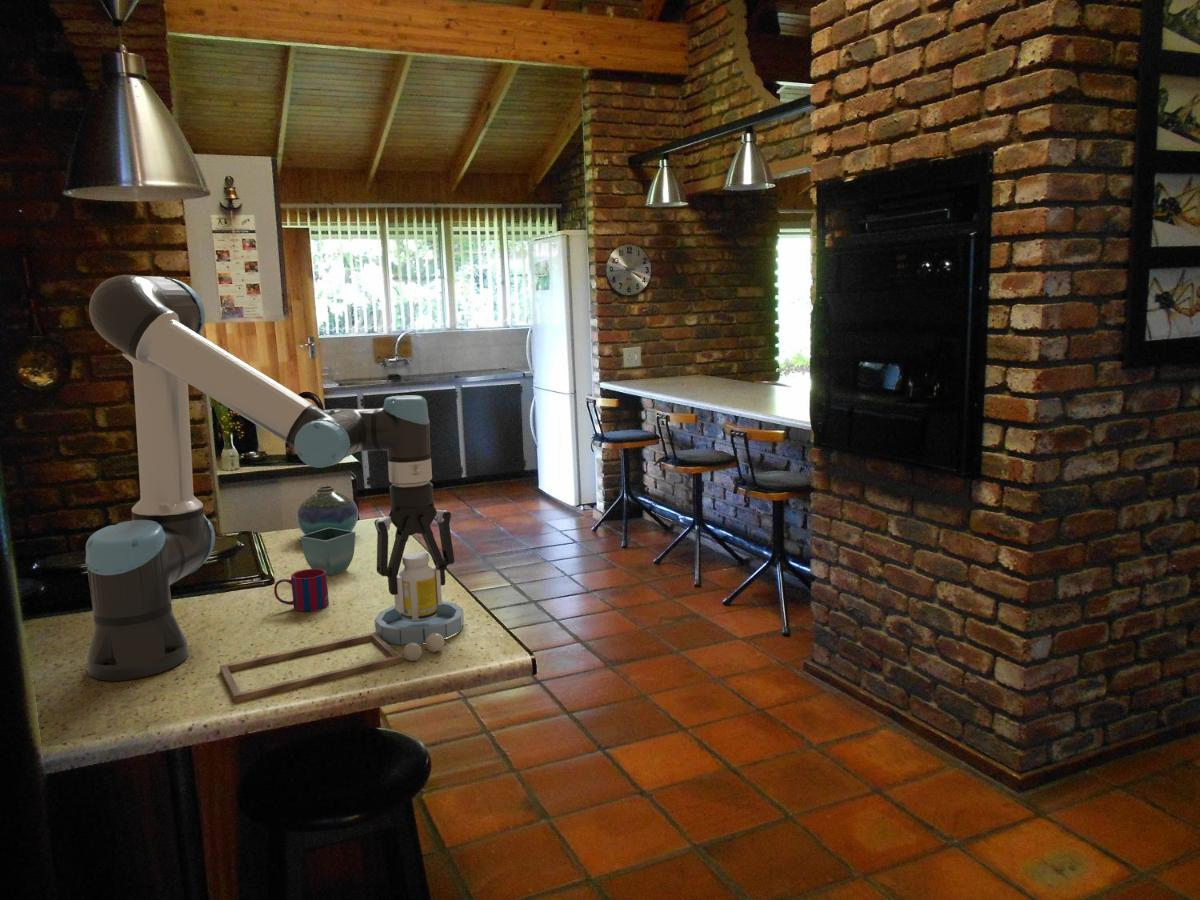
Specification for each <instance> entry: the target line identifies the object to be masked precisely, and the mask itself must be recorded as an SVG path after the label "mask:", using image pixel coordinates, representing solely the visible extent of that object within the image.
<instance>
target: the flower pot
mask: <svg viewBox="0 0 1200 900" xmlns="http://www.w3.org/2000/svg"><path fill="white" fill-rule="evenodd" d="M299 539H300V540H299V541H300V543H301V548H302V552H303V556H304V559H305V561H306V563H307V565H308V567H310V569H323V570H325V571H326V573H327V576H329V577H330V576H334V575H337V574H339V573H342V572H344V571H347V569H348V568H349V567H350V565H351V563H352V561H353V558H354V556H355V555H354V554H355V546H356V545H355V543H356V531H355V530H352V531H348V530H342V529H336V528H326V529H322V530H319V531H316V532H312V533H309V534H306V535H305V534H303V535H300V536H299Z"/></svg>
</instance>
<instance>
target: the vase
mask: <svg viewBox="0 0 1200 900" xmlns="http://www.w3.org/2000/svg"><path fill="white" fill-rule="evenodd" d="M316 489H317V490H316V492H313V494H311V495H309V496H308V497H306V498H305V499H304V500H302V501H301V503H300V504H299V506H298V507H297V511H296V523H297V525H298V528H299V530H300V531H301V532H302V533H303V535H306V534H309V533H312V532H316V531H319V530H322V529H326V528H336V529H342V530H348V531H354V528H355V527H356V525H357V523H358V518H359V509H358V506H357V504H356V502H355V501H354V500H353V499H352V498H351V497H350V496H348V495H346V494H345V493H342V492H340V491H337V490H336V489H335V488H334V486H333V485H324V486H319V487H317V488H316Z"/></svg>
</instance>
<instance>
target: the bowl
mask: <svg viewBox="0 0 1200 900" xmlns="http://www.w3.org/2000/svg"><path fill="white" fill-rule="evenodd" d="M464 618H465V617H464V609H463V608H462V607H461V606H459V604H457V603H455V602H451V601H450V602H449V601H445V600H442V605H437V615H436V616H435V617H434V618H432V619H430V620H427V621H422V622H409V621H406V620H404V619H403V618H402V615H401V613H399V612H398V611H397V610H396V609H395V605H392V606H390V607H388V608H385V609H383V610H381V611H379V612H378V614H377V615H376V617H375V619H374V629H375V632H376V633H377V634H378V635H379V636H380V637H381V638H382V639H383V640H384V641H385V642H386V643H387V644H389V643H390V645H394V644H395V645H396V646H404V645H407V644H409V643H412V642H414V643H417V644H423V643H426V639H427V637H428V636H429V635H430V634H432V633H439V634H441V635H442V636H443V638H446V637H449V636H451V635H453V634H455V633H457V632H459V631H460V630H461V629H462V626H463V627H464V623H465V619H464ZM462 630H463V629H462ZM462 630H461V631H462ZM461 631H460V632H461ZM460 632H459V633H460ZM395 645H394V646H395Z"/></svg>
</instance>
